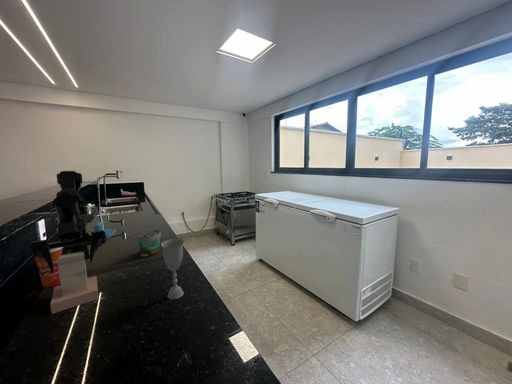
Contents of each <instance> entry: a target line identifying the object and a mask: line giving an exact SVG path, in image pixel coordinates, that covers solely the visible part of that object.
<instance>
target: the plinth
mask: <svg viewBox="0 0 512 384" xmlns="http://www.w3.org/2000/svg"><path fill="white" fill-rule="evenodd" d="M97 279H98V278H97V275H94V276H91V277H87V281H88V290H84V291H81V292H77V293H74V294H71V295H67V296H64V297H63V296H62V289H61V284H59V285H55V286H54V287H53V288H54V289H53V292H52V297H51V300H50V311H51V314H57V313H59V312H62V311H65V310H67V309H68V310H69V309H71V308H74V307H77V306H80V305H84V304H87V303H90V302H93V301H96V300H99V288H98V280H97Z"/></svg>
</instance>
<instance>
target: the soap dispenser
mask: <svg viewBox="0 0 512 384" xmlns="http://www.w3.org/2000/svg"><path fill="white" fill-rule="evenodd" d="M93 226H94V227H93V230H94V231H93V232H95V231H101V230H103V231H105V234H106V241H108V240H109V239H110V238H111V237H112V236H113V235H114V234H115V233H116V231H117V229H111V228H109V229H105V227H104V223H103V222H101V221H100V220H97V221H96V222H95V223H94V224H93Z"/></svg>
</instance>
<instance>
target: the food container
mask: <svg viewBox="0 0 512 384" xmlns="http://www.w3.org/2000/svg"><path fill="white" fill-rule="evenodd" d="M161 237H162V233H161V231H160V230H159V229H154V231H152V232H150V233H148V234H145V235H144V236H143V237H137V243H138V245H139V251H140V252H139V253H140V257H141V259H143V258H144V259H145V258H151V257H154V256H155V257H156V256H157V255H159V253H160V252H159V251H160V247H161V246H160V245H161V244H160V242H161V239H160V238H161Z"/></svg>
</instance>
